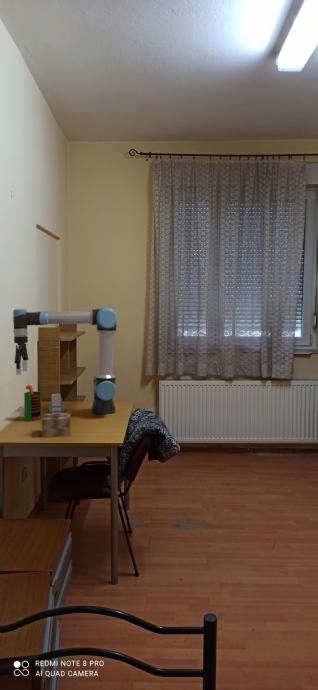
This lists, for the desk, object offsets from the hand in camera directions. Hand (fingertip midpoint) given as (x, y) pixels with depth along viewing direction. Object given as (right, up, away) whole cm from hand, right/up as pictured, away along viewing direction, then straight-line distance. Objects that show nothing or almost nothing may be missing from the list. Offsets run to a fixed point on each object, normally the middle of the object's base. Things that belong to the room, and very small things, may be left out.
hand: (22, 373), depth 296 cm
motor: (+5, -28, +6) cm, 29 cm away
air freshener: (+16, -26, +22) cm, 38 cm away
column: (+25, -30, -26) cm, 47 cm away
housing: (+25, -30, -26) cm, 47 cm away
